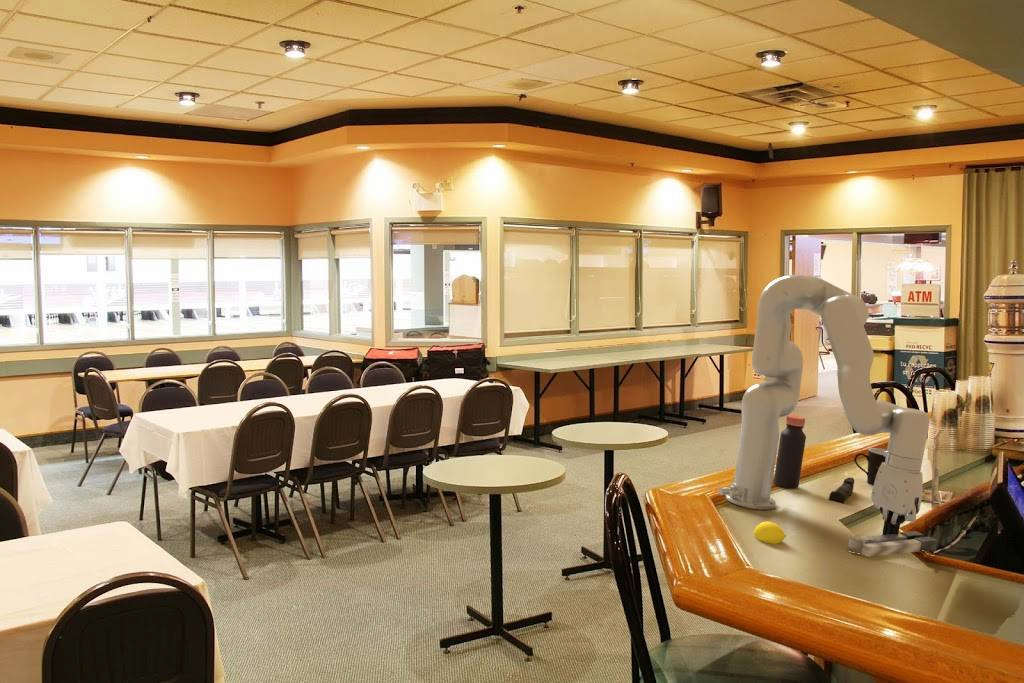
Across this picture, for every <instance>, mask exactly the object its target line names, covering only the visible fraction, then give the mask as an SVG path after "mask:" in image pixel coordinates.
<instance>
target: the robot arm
mask: <svg viewBox="0 0 1024 683" xmlns="http://www.w3.org/2000/svg"><path fill="white" fill-rule="evenodd" d="M793 310H808V311H809V312H812V313H814V314H817V315H818V316H820V319H821V322H822V324H823V325H822V326H823V327H824V330H825V333H826V336H827V340H828V342H829V344H830V347H831V350H832V354H833V357H834V359H835V362H836V367H837V368H836V369H837V372H836V373H837V374H836V376H837V388H838V393H839V398H840V401H841V402H840V403H841V405H842V407H843V410H844V413H845V416H846V418H847V420H848V423H849V424H850V426H851V428H852V429H853V430H854V431H855V432H856V433H858V434H860V435H862V436H874V435H877V434H883V433H885V434H886V433H889V438H888V444H887V449H886V450H887V451H884V452H883V456H885V457H886V459H885V462H883V463H882V464H881V466H880V468H879V470H878V472H877V475H876V478H875V482H874V486H873V487H872V491H871V494H870V495H871V496H870V500H871V502H872V503H873V506H874V508H876V509H877V510H879V511H880V513H881V515H882V520H883V521H884V522H883V523H884V524H883V527H882V528H883V529H882V534H881V535H889V534H900V526H901V525H903V524H904V522H910V523H911V522H916V521H917V515H918V514H919V512H920V509H921V505H922V500H923V498H922V497H923V486H924V485H923V483H924V481H923V480H924V478H923V477H924V476H923V472H921V470H922V465H923V460H924V455H925V454H924V453H925V450H926V449H925V448H926V443H927V437H928V432H929V426H930V422H931V417H930V414H928V413H927V412H925V411H924V410H920V409H916V408H911V407H904V406H900V405H897V404H895V403H891V402H889V401H887V400H879V399H878V400H877V399H876V397H875V395H874V392H873V391H874V390H873V388H872V384H871V370H872V369H871V368H872V366H873V363H874V359H875V353H874V349H873V347H872V345H871V342H870V339H869V337H868V336H869V335H868V334H867V331H866V329H865V326H864V325H865V324H866V323H867V321H868V319H869V309H868V305H867V303H866V302H864V300H862V298H860V297H859V296H856V295H854V294H853V293H850V292H849V291H846V290H845V289H842V288H840V287H838V286H836V285H834V284H833V283H830V282H828V281H826V280H825V279H822V278H820V277H817V276H814V275H813V276H811V275H804V274H803V275H801V274H789V275H784V276H781V277H778V278H776V279H774V280H772V281H771V282H769V283H768V284H767V285H766V286H765V288H764V289H763V290H762V292H761V294H760V297H759V299H758V306H757V314H756V315H757V316H756V317H757V318H756V325H755V326H756V327H755V332H754V340H753V347H752V348H753V349H752V354H751V355H752V356H751V366H752V369H753V370H754V372H755V374H757V375H759V376H760V377H762V378H765V381H764V382H758V383H755V384H753V385H751V386H750V387H749V388H748V389H746V391H745V392H744V394H743V395H742V400H741V425H740V426H741V427H740V434H739V435H740V436H739V443H738V444H739V445H738V450H737V457H736V465H735V471H734V478H733V482H730V483H729V484H730V485H729V486H727V487H726V486H725V487H718V489H717V492H718V495H720V496H726V497H725V499H726V500H727V501H728V502H730V503H732V504H734V505H737V506H740V507H743V508H747V509H752V510H753V509H754V510H773V509H774V508H776V504H777V503H776V500H774V498H772V497H771V493H772V487H773V482H774V476H775V469H776V462H777V456H778V449H779V442H780V427H779V426H780V425H779V419H780V418H781V417H787V415H791V414H792V413H793V412H794V411H795V409H796V408H797V406H798V404H799V398H800V392H801V384H802V375H803V368H804V358H803V354H802V351H801V349H800V347H799V346H798V345H797V344H796V343H795V342H793V341H791V332H792V318H791V312H792V311H793Z"/></svg>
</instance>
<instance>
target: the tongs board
mask: <svg viewBox="0 0 1024 683" xmlns="http://www.w3.org/2000/svg"><path fill="white" fill-rule="evenodd" d="M937 545H938V540H937V539H936V538H934V537H931V536H923V537H920V538H914V539H912V540H902V541H892V542H881V543H871V544H863V542H862V541H861V540H859V538H849V540H848V546H847V551H848V550H849V551H851V552H855V553H860V555H862V554H863V555H862V556H864V555H865V556H864V557H866V556H868V557H867V558H870V557H881V556H890V555H897V554H898V555H900V554H906V553H908V554H909V553H916V552H918V553H919V552H921V551H922V550H925V551H924V552H931V551H936V550H937ZM922 552H923V551H922Z"/></svg>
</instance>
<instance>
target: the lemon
mask: <svg viewBox="0 0 1024 683" xmlns="http://www.w3.org/2000/svg"><path fill="white" fill-rule="evenodd" d="M753 534H754V537H755V538H756V540H758V541H760V542H762V543H766V544H772V545H778V544H781V543H782V541H783V540H784V539H785V538H786V537H787V535H786V534H785V532H784V531H783V529H782V528H781V526H779V525H778V524H777V523H775V522H772V521H768V520H767V521H763V522H760V523H759V524H758V525H756V527H755V528H754V530H753Z"/></svg>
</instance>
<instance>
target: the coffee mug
mask: <svg viewBox="0 0 1024 683" xmlns="http://www.w3.org/2000/svg"><path fill="white" fill-rule="evenodd" d="M884 451H887V449H884V448H877V447H876V448H875V447H874V448H873V447H871V448H870V447H869V448H868V451H867V453H868V455H867V454H866V453H863V452H861V453H857V454H855V456H854V459H853V460H854V463H855V465H856V466H857V467H858V468H859V469H860V470H861V471H862V472H864V473H865V474H866V476H867V480H866V483H867V484H868V485H869V486H874V482H875V478H876V475H877V472H878V470H879V468H880V466H881V464H882V463H883V462H885V459H886V457H885V456H883V452H884ZM860 456H863V457H865V458H866V460H867V470H866V469H865V468H863V467H862V466H860V464H859V463H858V462H857V458H858V457H860Z"/></svg>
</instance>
